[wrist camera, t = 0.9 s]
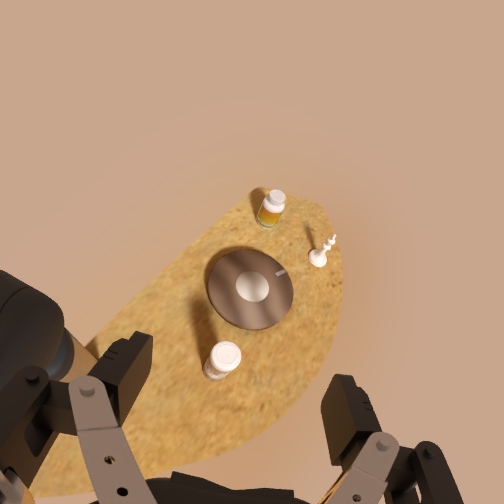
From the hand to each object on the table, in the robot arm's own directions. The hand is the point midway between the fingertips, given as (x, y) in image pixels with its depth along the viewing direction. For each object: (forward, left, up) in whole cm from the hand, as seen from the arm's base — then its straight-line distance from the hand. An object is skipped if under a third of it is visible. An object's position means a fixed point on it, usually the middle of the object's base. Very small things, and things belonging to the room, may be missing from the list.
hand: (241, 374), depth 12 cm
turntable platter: (+23, +16, -42) cm, 50 cm away
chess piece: (+44, +16, -43) cm, 64 cm away
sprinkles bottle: (+8, +5, -43) cm, 44 cm away
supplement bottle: (+38, +31, -43) cm, 66 cm away
